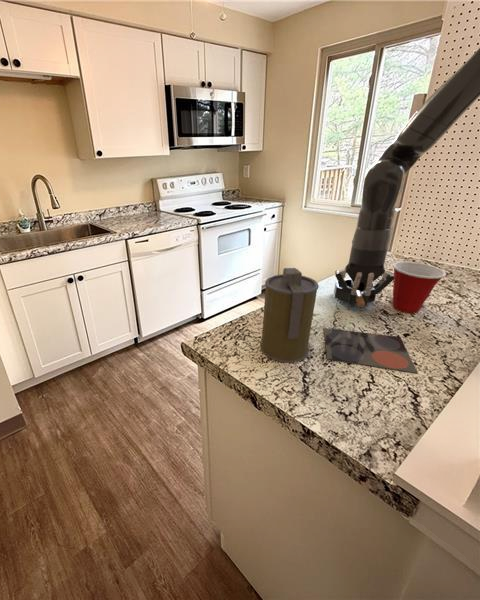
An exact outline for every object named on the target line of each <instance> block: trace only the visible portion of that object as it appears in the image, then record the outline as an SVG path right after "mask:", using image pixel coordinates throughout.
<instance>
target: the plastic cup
mask: <svg viewBox="0 0 480 600" xmlns="http://www.w3.org/2000/svg"><path fill="white" fill-rule="evenodd" d="M392 267H393V276H394V280H393V285H392V308H394V309H395V310H397V311H400V312H402V313H407V314H408V313H410V314H416V313H418V312H419V311H420V310H421V309H422V307H423V305H424V303H425V302H426V301H427V300H428V297H429V296H430V294H431V293H432V291H433V289H434V288H435V286H436V285H437V284H438V282H440V280H441V279H443V278H445V277H446V276H447V272H445V270H444V269H442V268H439V267H437V266H434V265H432V264H428V263H427V264H426V263H421V262H416V261H398V262H397V261H396V262H394V263H393V264H392Z"/></svg>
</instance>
